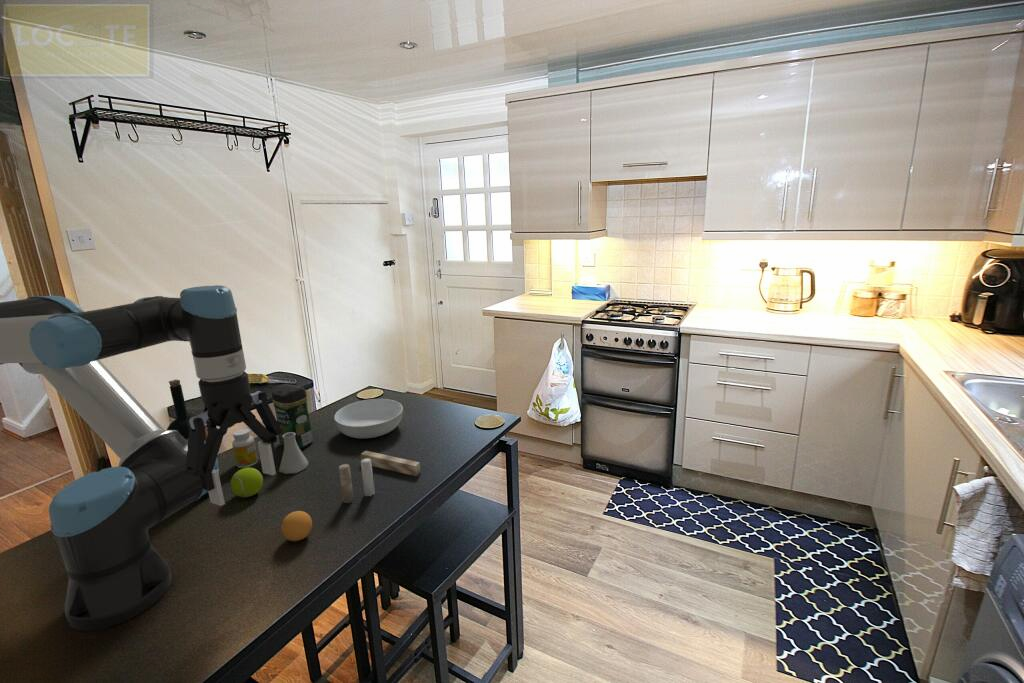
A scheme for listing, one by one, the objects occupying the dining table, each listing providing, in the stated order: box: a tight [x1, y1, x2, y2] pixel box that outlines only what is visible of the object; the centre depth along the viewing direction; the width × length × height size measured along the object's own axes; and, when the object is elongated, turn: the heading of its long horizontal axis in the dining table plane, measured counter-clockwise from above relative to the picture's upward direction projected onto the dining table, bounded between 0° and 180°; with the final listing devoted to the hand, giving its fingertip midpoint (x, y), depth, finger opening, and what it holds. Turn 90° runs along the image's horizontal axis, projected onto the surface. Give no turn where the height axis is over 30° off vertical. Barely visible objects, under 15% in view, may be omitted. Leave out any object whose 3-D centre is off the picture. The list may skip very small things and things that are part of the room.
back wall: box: [360, 450, 421, 477], centre depth 130 cm, size 18×2×3 cm, turn 66°
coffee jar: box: [271, 382, 314, 449], centre depth 144 cm, size 10×8×19 cm
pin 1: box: [338, 463, 355, 504], centre depth 115 cm, size 2×2×9 cm
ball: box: [280, 510, 313, 542], centre depth 102 cm, size 6×6×6 cm
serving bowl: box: [333, 398, 404, 439], centre depth 152 cm, size 21×21×7 cm
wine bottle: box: [166, 379, 210, 504], centre depth 116 cm, size 8×10×30 cm
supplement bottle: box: [231, 428, 259, 469], centre depth 134 cm, size 5×5×10 cm
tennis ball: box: [230, 467, 264, 498], centre depth 119 cm, size 7×7×7 cm
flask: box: [278, 432, 310, 475], centre depth 131 cm, size 7×7×10 cm
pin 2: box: [360, 459, 376, 497], centre depth 117 cm, size 2×2×9 cm
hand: (244, 487), depth 90 cm, fingers open, 10 cm apart
